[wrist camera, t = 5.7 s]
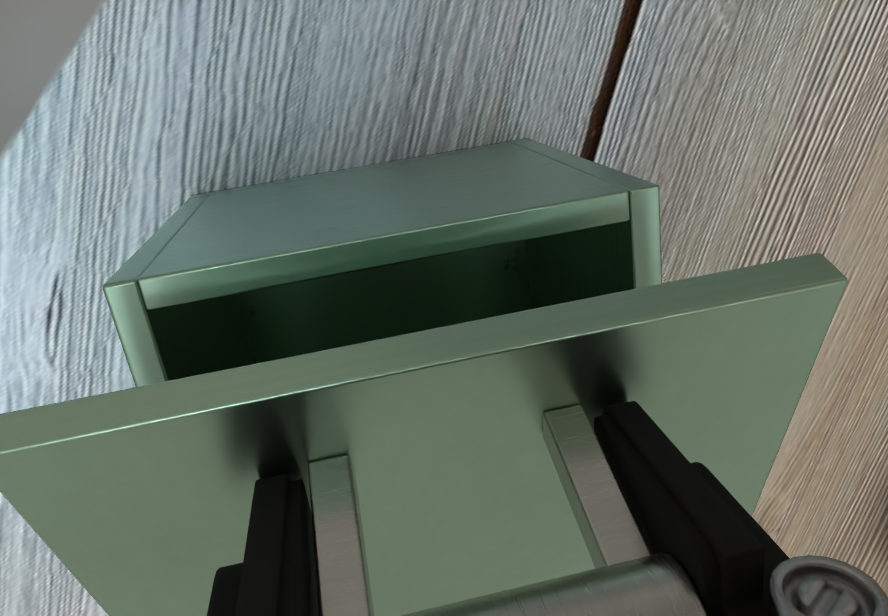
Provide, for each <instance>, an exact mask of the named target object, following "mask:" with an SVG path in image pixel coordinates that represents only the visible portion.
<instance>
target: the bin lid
mask: <svg viewBox="0 0 888 616" xmlns="http://www.w3.org/2000/svg"><path fill="white" fill-rule="evenodd" d="M846 284H847V278H846V277H845V276H844V275H843V274H842V273H841V272H840V271H839V270H838V269H837V268H836V267H835V266H834V265H833V264H832V263H831V262H830V261H828V260H827V259H826V258H825V257H824V256H823V255H822V254H820V253H814V254H809V255H804V256H799V257H794V258H789V259H784V260H779V261H774V262H769V263H764V264H759V265H754V266H748V267H743V268H738V269H733V270H728V271H723V272H718V273H713V274H708V275H703V276H698V277H693V278H688V279H683V280H678V281H672V282H667V283H662V284H657V285H652V286H647V287H642V288H637V289H632V290H627V291H622V292H617V293H612V294H607V295H601V296H596V297H591V298H586V299H581V300H576V301H571V302H566V303H561V304H556V305H551V306H546V307H541V308H536V309H531V310H525V311H520V312H515V313H510V314H505V315H500V316H495V317H490V318H485V319H480V320H475V321H470V322H465V323H460V324H454V325H449V326H444V327H439V328H434V329H429V330H424V331H419V332H414V333H409V334H404V335H399V336H394V337H389V338H384V339H378V340H373V341H368V342H363V343H358V344H353V345H348V346H343V347H338V348H333V349H328V350H323V351H318V352H313V353H307V354H302V355H297V356H292V357H287V358H282V359H277V360H272V361H267V362H262V363H257V364H252V365H247V366H242V367H237V368H231V369H226V370H221V371H216V372H211V373H206V374H201V375H196V376H191V377H186V378H181V379H176V380H171V381H166V382H161V383H155V384H150V385H145V386H140V387H135V388H130V389H125V390H120V391H115V392H110V393H105V394H100V395H95V396H90V397H84V398H79V399H74V400H69V401H64V402H59V403H54V404H49V405H44V406H39V407H34V408H29V409H24V410H19V411H14V412H8V413H3V414H0V492H1V493H2V494H3V496H4V497H5V498H6V499H7V500H8V501H9V502H10V504H11V505H12V506H13V507H14V508H15V509H16V510H17V511H18V513H19V514H20V515H21V516H22V517H23V518H24V519H25V521H26V522H27V523H28V524H29V525H30V526H31V527H32V529H33V530H34V531H35V532H36V533H37V534H38V535H39V537H40V538H41V539H42V540H43V541H44V542H45V543H46V545H47V546H48V547H49V548H50V549H51V550H52V551H53V553H54V554H55V555H56V556H57V557H58V558H59V559H60V560H61V562H62V563H63V564H64V565H65V566H66V567H67V568H68V570H69V571H70V572H71V573H72V574H73V575H74V576H75V578H76V579H77V580H78V581H79V582H80V583H81V584H82V586H83V587H84V588H85V589H86V590H87V591H88V592H89V594H90V595H91V596H92V597H93V598H94V599H95V600H96V602H97V603H98V604H99V605H100V606H101V607H102V608H103V609H104V611H105V612H106V613H107V614H108V615H109V616H207V612H208V607H209V602H210V597H211V592H212V587H213V582H214V577H215V574H216V571H217V570H218V569H219V568H220V567H225V566H229V565H234V564H238V563H243V559H244V553H245V546H246V539H247V533H248V526H249V519H250V513H251V506H252V499H253V493H254V486H255V482H256V480H258V479H263V478H268V477H272V476H277V475H282V474H287V473H288V474H289V475H290V477H291V480H292V481H294V480H299V479H302V480H303V482H304V486H305V489H306V493H307V497H308V501H309V505H310V509H311V514H312V528H313V542H314V555H315V569H316V583H317V597H318V610H319V616H709V615H708V612H707V609H706V607H705V605H704V602H703V600H702V598H701V596H700V594H699V592H698V590H697V588H696V586H695V584H694V583H693V581H692V579H691V578H690V576H689V574H688V573H687V571H686V570H685V568H684V567H683V566H682V565H681V563H680V562H679V561H678V560H677V559H676V558H674V557H673V556H671V555H670V554H666V553H658V554H654V555H653V554H652V552H651V550H650V548H649V546H648V544H647V541H646V539H645V537H644V535H643V533H642V531H641V529H640V527H639V525H638V522H637V520H636V518H635V516H634V514H633V512H632V510H631V508H630V506H629V504H628V501H627V499H626V497H625V495H624V493H623V491H622V489H621V487H620V485H619V482H618V480H617V478H616V476H615V474H614V472H613V470H612V468H611V466H610V463H609V461H608V459H607V457H606V455H605V453H604V451H603V449H602V447H601V445H600V442H599V440H598V438H597V436H596V434H595V432H594V418H595V417H597V416H602V411H603V408H604V407H606V406H610V405H615V404H620V403H625V402H630V401H636V402H637V403H638V404H639V405H640V406H641V407H642V408H643V410H644V411H645V412H646V413H647V414H648V415H649V416H650V418H651V419H652V420H653V421H654V422H655V423H656V424H657V426H658V427H659V428H660V429H661V430H662V431H663V432H664V434H665V435H666V436H667V437H668V438H669V439H670V440H671V442H672V443H673V444H674V445H675V446H676V447H677V448H678V449H679V451H680V452H681V453H682V454H683V455H684V456H685V457H686V459H687V460H688V461H689V462H690V463H693V462H699V463H702V464H703V465H704V466H706V467H707V468H708V469H709V470H710V471H711V473H712V474H713V475H714V476H715V477H716V478H717V479H718V480H719V481H720V482H721V484H722V485H723V486H724V487H725V488H726V489H727V490H728V491H729V492H730V493H731V495H732V496H733V497H734V498H735V499H736V500H737V501H738V502H739V503H740V505H741V506H742V507H743V508H744V509H745V510H746V511H747V512H748V513H749V514H750V516H751V517H752V514H753V512H754V509H755V507H756V504H757V502H758V499H759V497H760V495H761V492H762V490H763V487H764V485H765V482H766V480H767V477H768V475H769V473H770V470H771V468H772V465H773V463H774V460H775V458H776V455H777V453H778V451H779V448H780V446H781V443H782V441H783V438H784V436H785V433H786V431H787V428H788V426H789V424H790V421H791V419H792V416H793V414H794V411H795V409H796V406H797V404H798V402H799V399H800V397H801V394H802V392H803V389H804V387H805V384H806V382H807V380H808V377H809V375H810V372H811V370H812V367H813V365H814V362H815V360H816V358H817V355H818V353H819V350H820V348H821V345H822V343H823V340H824V338H825V336H826V333H827V331H828V328H829V326H830V323H831V321H832V318H833V316H834V314H835V311H836V309H837V306H838V304H839V301H840V299H841V296H842V294H843V292H844V289H845V287H846Z"/></svg>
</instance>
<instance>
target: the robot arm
mask: <svg viewBox="0 0 888 616" xmlns="http://www.w3.org/2000/svg"><path fill="white" fill-rule="evenodd" d="M594 432H595V434H596V436H597V438H598V440H599V442H600V445H601V447H602V449H603V451H604V453H605V455H606V457H607V459H608V461H609V463H610V466H611V468H612V470H613V472H614V474H615V476H616V478H617V480H618V482H619V485H620V487H621V489H622V491H623V493H624V495H625V497H626V499H627V501H628V504H629V506H630V508H631V510H632V512H633V514H634V516H635V518H636V520H637V522H638V525H639V527H640V529H641V531H642V533H643V535H644V537H645V539H646V541H647V544H648V546H649V548H650V550H651V552H652V554H653V555H654V554H658V553H666V554H670V555H671V556H673V557H674V558H676V559H677V560H678V561H679V562H680V563H681V565H682V566H683V567H684V568H685V570H686V571H687V573H688V574H689V576H690V578H691V579H692V581H693V583H694V584H695V586H696V588H697V590H698V592H699V594H700V596H701V598H702V600H703V602H704V605H705V607H706V609H707V612H708V615H709V616H888V597H887V595H886V594H885V592H884V591H883V590H882V588H881V587H880V586H879V585H878V584H877V582H876V581H875V580H874V579H872V578H871V577H870V576H868V575H867V574H866V573H864V572H863V571H862V570H860V569H858V568H856V567H854V566H852V565H850V564H848V563H846V562H843V561H840V560H836V559H832V558H829V557H823V556H811V555H807V556H799V557H793V558H791V559H790V558H789V557H788V556H787V555H786V554H785V553H784V552H783V551H782V550H781V549H780V547H779V546H778V545H777V544H776V543H775V542H774V541H773V540H772V539H771V538H770V536H769V535H768V534H767V533H766V532H765V531H764V530H763V529H762V528H761V527H760V525H759V524H758V523H757V522H756V521H755V520H754V519H753V518H752V517H751V516H750V514H749V513H748V512H747V511H746V510H745V509H744V508H743V507H742V506H741V505H740V503H739V502H738V501H737V500H736V499H735V498H734V497H733V496H732V495H731V493H730V492H729V491H728V490H727V489H726V488H725V487H724V486H723V485H722V484H721V482H720V481H719V480H718V479H717V478H716V477H715V476H714V475H713V474H712V473H711V471H710V470H709V469H708V468H707V467H706V466H704V465H703V464H702V463H699V462H693V463H690V462H689V461H688V460H687V459H686V457H685V456H684V455H683V454H682V453H681V452H680V451H679V449H678V448H677V447H676V446H675V445H674V444H673V443H672V442H671V440H670V439H669V438H668V437H667V436H666V435H665V434H664V432H663V431H662V430H661V429H660V428H659V427H658V426H657V424H656V423H655V422H654V421H653V420H652V419H651V418H650V416H649V415H648V414H647V413H646V412H645V411H644V410H643V408H642V407H641V406H640V405H639V404H638V403H637V402H636V401H630V402H625V403H620V404H615V405H610V406H606V407H604V408H603V411H602V416H597V417H595V418H594ZM207 616H319V610H318V597H317V583H316V569H315V555H314V542H313V528H312V514H311V509H310V505H309V501H308V497H307V493H306V489H305V486H304V482H303V480H302V479H299V480H294V481H292V480H291V477H290V475H289V474H288V473H287V474H282V475H277V476H272V477H268V478H263V479H258V480H256V482H255V486H254V493H253V499H252V506H251V513H250V519H249V526H248V533H247V539H246V546H245V553H244V559H243V563H238V564H234V565H229V566H225V567H220V568H219V569H218V570H217V571H216V574H215V577H214V582H213V587H212V592H211V597H210V602H209V607H208V612H207Z"/></svg>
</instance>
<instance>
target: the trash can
mask: <svg viewBox="0 0 888 616" xmlns="http://www.w3.org/2000/svg"><path fill="white" fill-rule="evenodd" d="M657 284H662V265H661V235H660V204H659V186H658V185H657V184H654V183H651V182H648V181H646V180H643V179H640V178H637V177H634V176H631V175H629V174H626V173H623V172H620V171H617V170H615V169H612V168H609V167H606V166H603V165H601V164H598V163H595V162H592V161H589V160H587V159H584V158H581V157H578V156H575V155H573V154H570V153H567V152H564V151H561V150H559V149H556V148H553V147H550V146H547V145H545V144H542V143H539V142H536V141H533V140H531V139H528V138H527V139H521V140H515V141H509V142H503V143H497V144H491V145H485V146H479V147H474V148H468V149H462V150H456V151H450V152H444V153H438V154H432V155H426V156H421V157H415V158H409V159H403V160H397V161H391V162H385V163H379V164H373V165H368V166H362V167H356V168H350V169H344V170H338V171H332V172H326V173H320V174H315V175H309V176H303V177H297V178H291V179H285V180H279V181H273V182H267V183H262V184H256V185H250V186H244V187H238V188H232V189H226V190H220V191H214V192H209V193H203V194H197V195H192V196H191V197H190V198H189V199H188V200H187V201H186V202H185V203H184V204H183V205H182V206H181V207H180V208H179V209H178V210H177V211H176V212H175V213H174V214H173V215H172V216H171V217H170V218H169V219H168V220H167V222H166V223H165V224H164V225H163V226H162V227H161V228H160V229H159V230H158V231H157V232H156V233H155V234H154V235H153V236H152V237H151V238H150V239H149V240H148V241H147V242H146V243H145V244H144V245H143V246H142V247H141V248H140V249H139V250H138V251H137V252H136V253H135V254H134V255H133V256H132V257H131V258H130V259H129V260H128V261H127V262H126V263H125V264H124V265H123V266H122V267H121V268H120V269H119V270H118V271H117V272H116V273H115V274H114V275H113V276H112V277H111V278H110V279H109V280H108V281H107V282H106V283H105V284H104V285H103V291H104V294H105V297H106V300H107V303H108V306H109V308H110V311H111V314H112V317H113V320H114V323H115V326H116V329H117V332H118V335H119V338H120V341H121V344H122V347H123V350H124V353H125V356H126V359H127V362H128V365H129V368H130V371H131V374H132V377H133V380H134V383H135V386H136V387H140V386H145V385H150V384H155V383H161V382H166V381H171V380H176V379H181V378H186V377H191V376H196V375H201V374H206V373H211V372H216V371H221V370H226V369H231V368H237V367H242V366H247V365H252V364H257V363H262V362H267V361H272V360H277V359H282V358H287V357H292V356H297V355H302V354H307V353H313V352H318V351H323V350H328V349H333V348H338V347H343V346H348V345H353V344H358V343H363V342H368V341H373V340H378V339H384V338H389V337H394V336H399V335H404V334H409V333H414V332H419V331H424V330H429V329H434V328H439V327H444V326H449V325H454V324H460V323H465V322H470V321H475V320H480V319H485V318H490V317H495V316H500V315H505V314H510V313H515V312H520V311H525V310H531V309H536V308H541V307H546V306H551V305H556V304H561V303H566V302H571V301H576V300H581V299H586V298H591V297H596V296H601V295H607V294H612V293H617V292H622V291H627V290H632V289H637V288H642V287H647V286H652V285H657Z"/></svg>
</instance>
